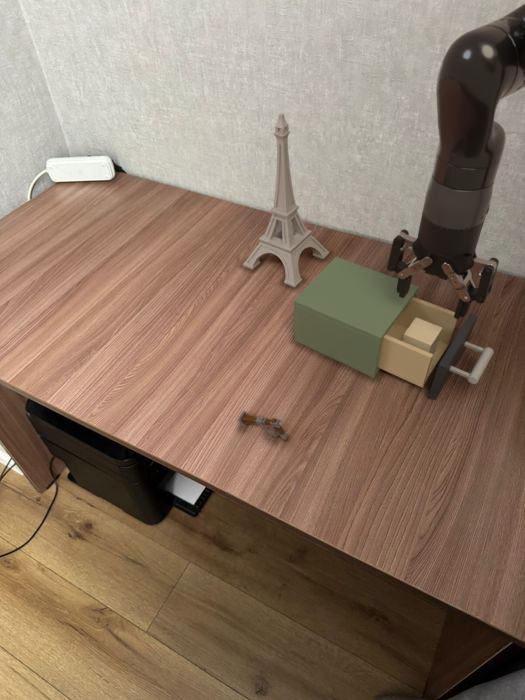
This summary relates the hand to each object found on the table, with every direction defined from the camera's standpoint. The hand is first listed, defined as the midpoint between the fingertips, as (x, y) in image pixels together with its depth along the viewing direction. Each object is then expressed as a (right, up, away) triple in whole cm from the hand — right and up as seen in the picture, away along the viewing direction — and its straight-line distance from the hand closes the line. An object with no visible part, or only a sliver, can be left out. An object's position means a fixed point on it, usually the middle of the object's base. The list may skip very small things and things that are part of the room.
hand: (430, 304), depth 72 cm
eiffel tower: (-20, +12, +31) cm, 39 cm away
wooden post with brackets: (-25, -19, +3) cm, 32 cm away
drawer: (+1, -9, +8) cm, 12 cm away
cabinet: (-9, -4, +15) cm, 18 cm away
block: (+1, -7, +8) cm, 11 cm away
